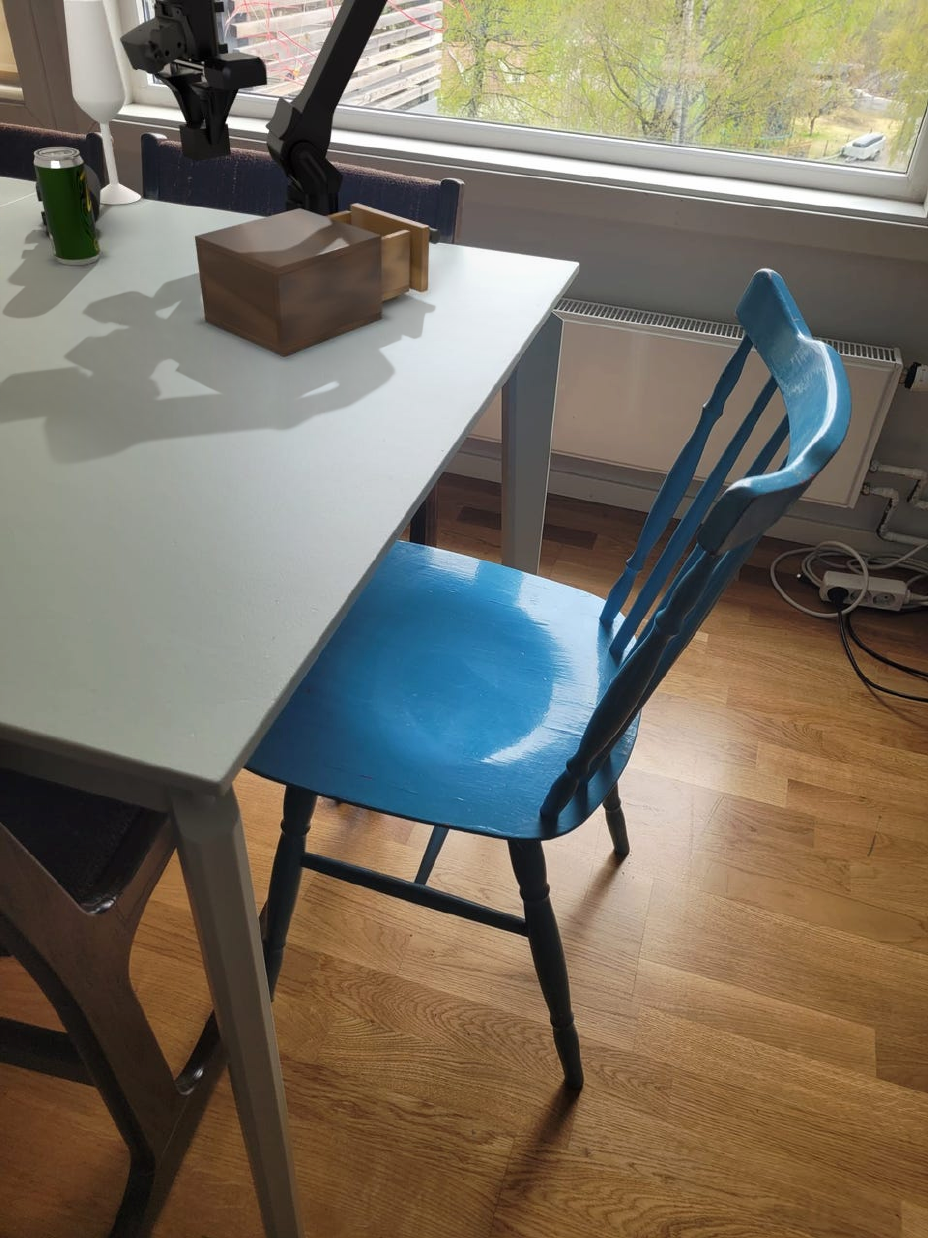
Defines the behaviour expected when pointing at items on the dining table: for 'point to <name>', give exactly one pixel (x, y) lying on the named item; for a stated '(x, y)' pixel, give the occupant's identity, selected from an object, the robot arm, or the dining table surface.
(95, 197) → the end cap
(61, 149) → the beer can
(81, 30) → the champagne flute
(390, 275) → the drawer
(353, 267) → the cabinet
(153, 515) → the dining table surface
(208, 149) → the black block
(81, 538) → the dining table surface
